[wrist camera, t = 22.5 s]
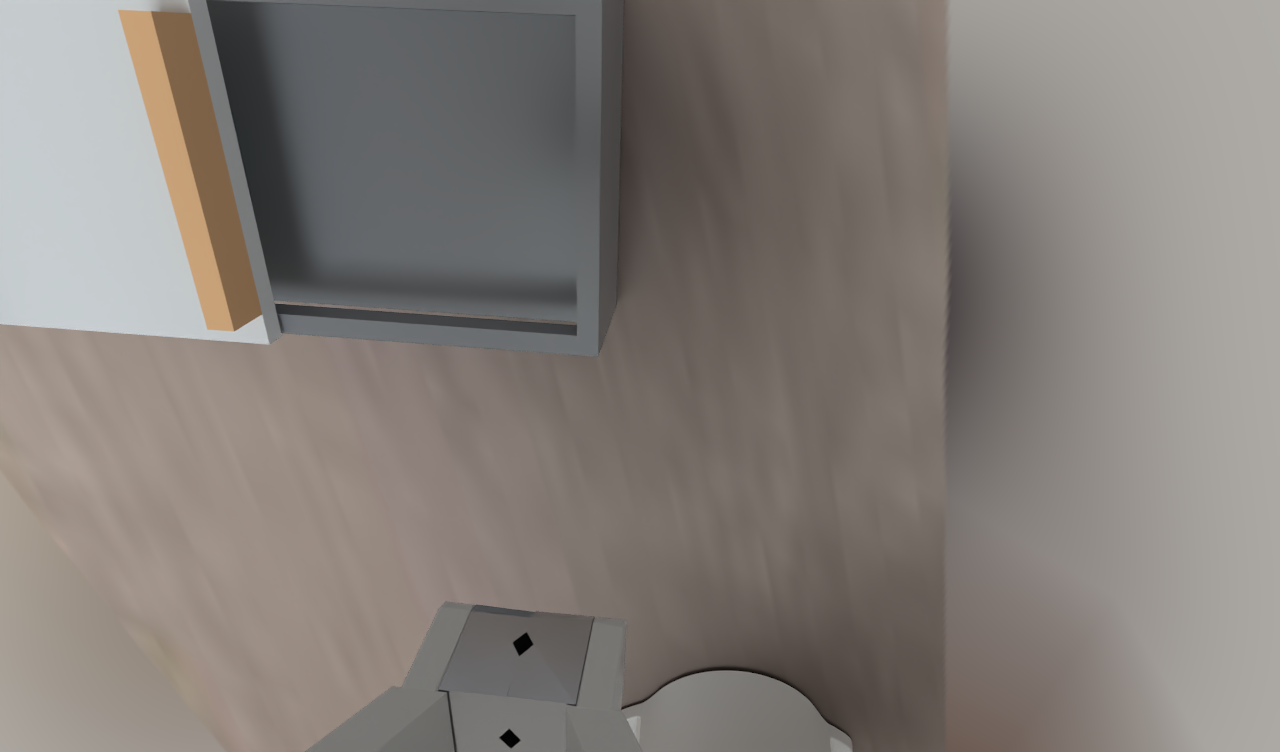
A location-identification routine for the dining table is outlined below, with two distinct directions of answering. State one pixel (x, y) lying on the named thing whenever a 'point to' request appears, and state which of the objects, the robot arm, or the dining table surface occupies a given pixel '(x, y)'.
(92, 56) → the lid
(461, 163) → the housing
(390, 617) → the dining table surface
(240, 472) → the dining table surface
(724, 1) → the dining table surface
